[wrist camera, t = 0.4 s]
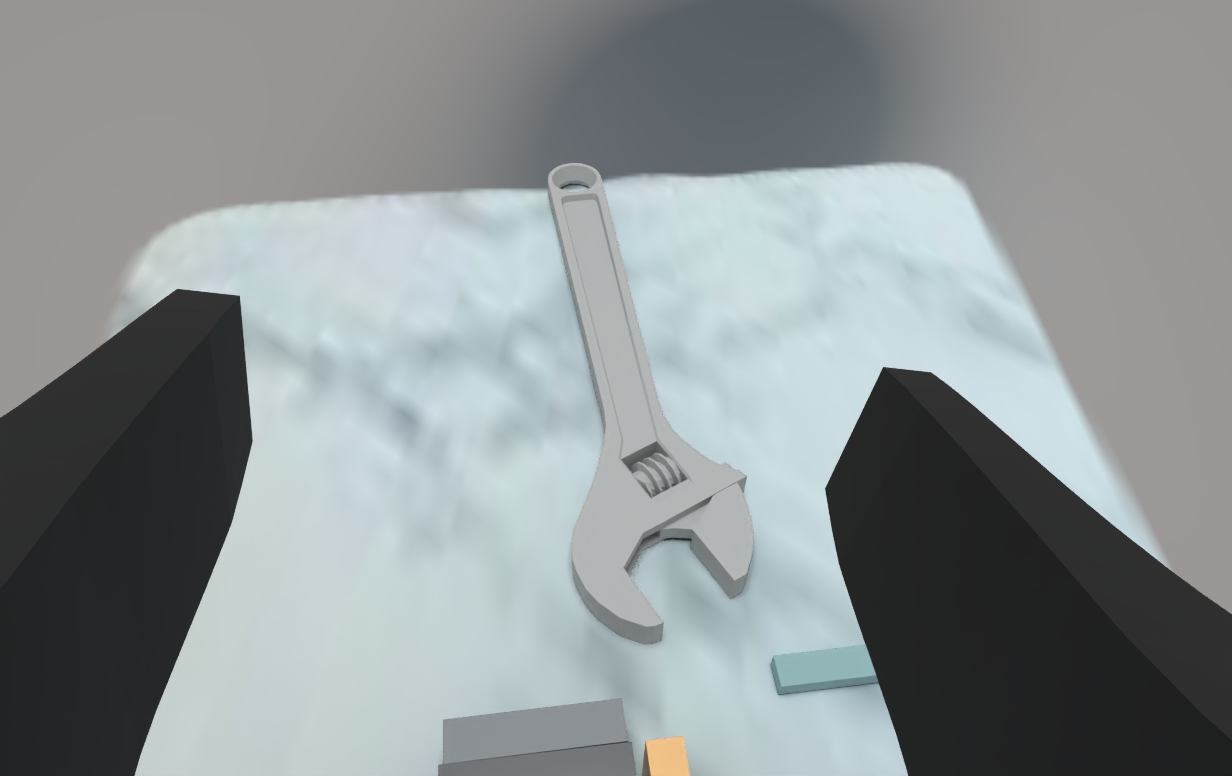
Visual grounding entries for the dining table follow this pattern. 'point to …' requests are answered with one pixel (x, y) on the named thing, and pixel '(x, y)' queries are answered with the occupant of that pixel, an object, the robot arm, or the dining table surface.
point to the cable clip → (533, 731)
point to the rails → (823, 669)
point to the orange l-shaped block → (665, 757)
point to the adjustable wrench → (635, 436)
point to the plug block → (552, 763)
